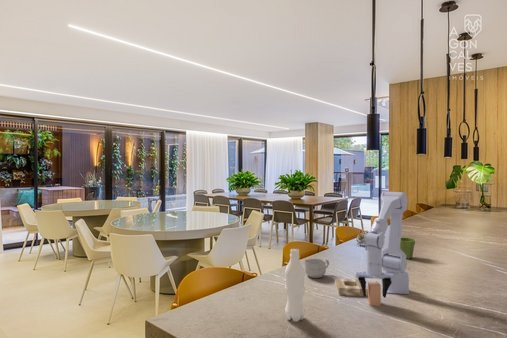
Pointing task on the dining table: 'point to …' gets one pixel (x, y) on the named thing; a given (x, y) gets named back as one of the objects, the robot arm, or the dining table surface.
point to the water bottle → (294, 287)
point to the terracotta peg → (374, 293)
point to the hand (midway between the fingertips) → (374, 296)
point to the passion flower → (360, 238)
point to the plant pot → (407, 246)
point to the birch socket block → (349, 287)
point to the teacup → (316, 267)
